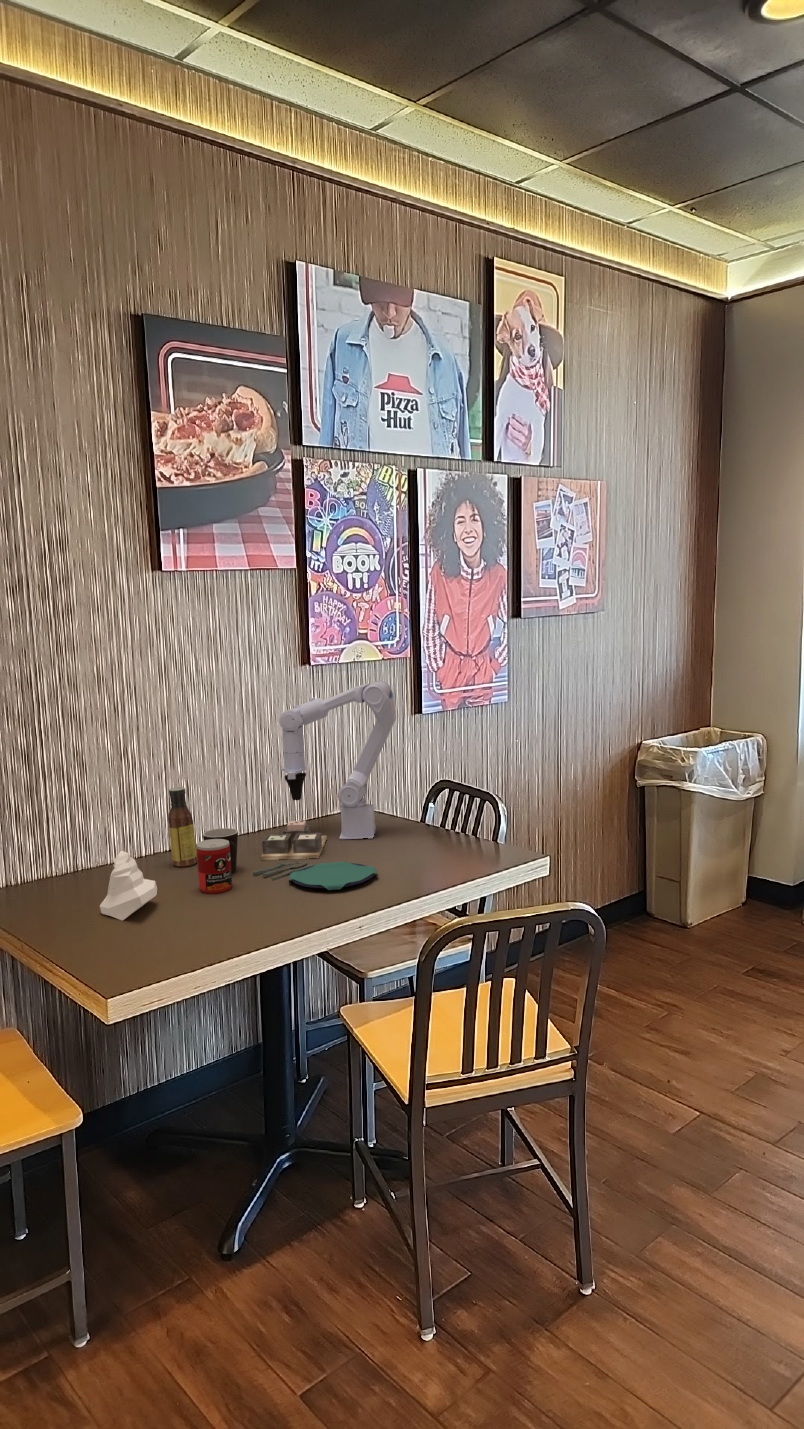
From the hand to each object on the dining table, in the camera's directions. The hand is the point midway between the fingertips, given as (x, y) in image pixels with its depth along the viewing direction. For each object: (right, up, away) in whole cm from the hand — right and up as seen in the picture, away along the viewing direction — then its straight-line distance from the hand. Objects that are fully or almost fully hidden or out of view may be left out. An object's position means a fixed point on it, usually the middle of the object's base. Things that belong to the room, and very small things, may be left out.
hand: (296, 799), depth 269 cm
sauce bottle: (-26, -15, -22) cm, 38 cm away
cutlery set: (+9, -16, -38) cm, 42 cm away
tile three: (+1, -8, -8) cm, 12 cm away
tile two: (-3, -11, -17) cm, 20 cm away
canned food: (-14, -17, -44) cm, 49 cm away
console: (+1, -12, -13) cm, 17 cm away
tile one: (+5, -11, -17) cm, 21 cm away
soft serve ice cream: (-31, -20, -57) cm, 67 cm away
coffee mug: (-15, -16, -32) cm, 38 cm away
